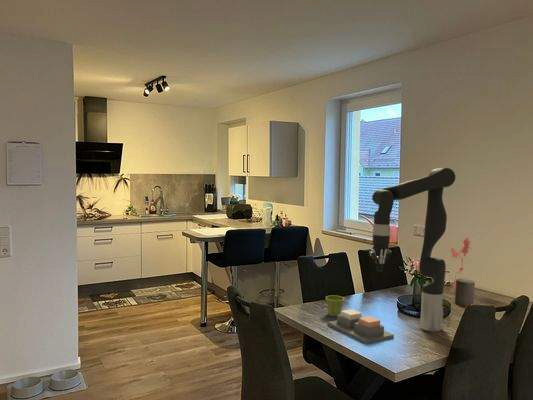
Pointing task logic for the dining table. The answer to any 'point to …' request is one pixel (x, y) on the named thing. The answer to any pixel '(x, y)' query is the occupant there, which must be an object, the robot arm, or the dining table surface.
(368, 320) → the terracotta key
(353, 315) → the cream key
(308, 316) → the dining table surface
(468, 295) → the pillar candle
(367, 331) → the key panel
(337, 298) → the plant pot
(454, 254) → the pink flower sprig
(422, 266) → the robot arm
